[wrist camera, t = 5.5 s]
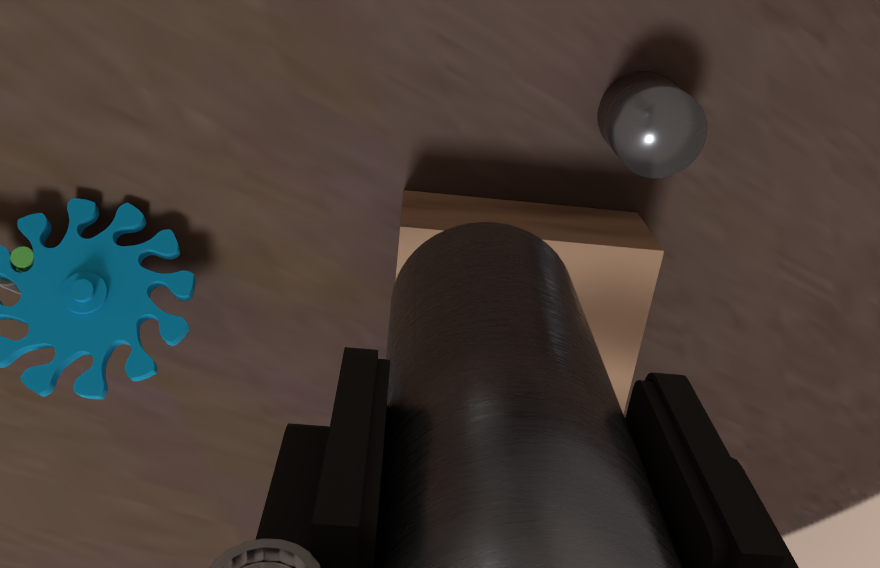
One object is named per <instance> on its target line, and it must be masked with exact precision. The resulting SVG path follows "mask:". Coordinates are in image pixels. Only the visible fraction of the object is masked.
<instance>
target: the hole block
mask: <svg viewBox="0 0 880 568" xmlns="http://www.w3.org/2000/svg"><path fill="white" fill-rule="evenodd" d="M476 222H497V223H503V224H509V225H512V226H516V227H519V228H521V229H524V230H526V231H528V232H531V233H532V234H534V235H536V236H537V237H539V238H541V239H542V240H543V241H544V242H546V243H547V244H548V245H549V246H550V247H551V248H552V249H553V250H554V251H555V252H556V253H557V254H558V255H559V257H560V258H561V260H562V261H563V263H564V264H565V266H566V268H567V270H568V272H569V275H570V277H571V280H572V283H573V285H574V288H575V290H576V293H577V295H578V298H579V301H580V303H581V306H582V308H583V311H584V314H585V316H586V319H587V321H588V324H589V327H590V329H591V332H592V334H593V337H594V340H595V342H596V345H597V347H598V350H599V353H600V355H601V358H602V360H603V363H604V366H605V368H606V371H607V373H608V376H609V379H610V381H611V384H612V386H613V389H614V391H615V394H616V397H617V399H618V402H619V404H620V407H621V410H622V412H623V414H624V410H625V406H626V402H627V398H628V394H629V390H630V386H631V382H632V378H633V374H634V370H635V366H636V362H637V358H638V353H639V349H640V345H641V341H642V337H643V333H644V329H645V325H646V321H647V317H648V313H649V309H650V305H651V301H652V297H653V293H654V289H655V285H656V281H657V277H658V273H659V269H660V265H661V261H662V257H663V253H664V250H663V249H662V247H661V246H660V244H659V243H658V241H657V240H656V239H655V237H654V236H653V234H652V233H651V231H650V230H649V228H648V227H647V226H646V224H645V223H644V221H643V220H642V218H641V217H640V216H639V214H638V213H637V212H628V211H617V210H607V209H597V208H586V207H576V206H565V205H555V204H544V203H534V202H523V201H513V200H502V199H492V198H481V197H471V196H460V195H450V194H439V193H429V192H418V191H408V190H404V191H403V202H402V214H401V225H400V236H399V248H398V259H397V270H396V278H397V276H398V274H399V272H400V270H401V268H402V266H403V265H404V263H405V262H406V260H407V259H408V258H409V257H410V255H411V254H412V253H413V252H414V251H415V250H416V249H417V248H418V247H419V246H421V245H422V244H423V243H424V242H425V241H427V240H428V239H430V238H431V237H433V236H434V235H436V234H438V233H440V232H442V231H444V230H447V229H450V228H452V227H455V226H458V225H463V224H468V223H476Z"/></svg>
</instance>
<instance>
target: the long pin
mask: <svg viewBox="0 0 880 568" xmlns="http://www.w3.org/2000/svg"><path fill="white" fill-rule="evenodd" d="M386 360H390V372H389V384H388V397H387V409H386V422H385V434H384V446H383V459H382V471H381V483H380V496H379V508H378V520H377V532H376V543H375V554H374V565H373V568H682V565H681V563H680V560H679V558H678V555H677V552H676V550H675V547H674V545H673V542H672V539H671V537H670V534H669V532H668V529H667V526H666V524H665V521H664V519H663V516H662V513H661V511H660V508H659V506H658V503H657V500H656V498H655V495H654V493H653V490H652V487H651V485H650V482H649V480H648V477H647V475H646V472H645V469H644V467H643V464H642V462H641V459H640V456H639V454H638V451H637V449H636V446H635V443H634V441H633V438H632V436H631V433H630V430H629V428H628V425H627V423H626V420H625V417H624V415H623V412H622V410H621V407H620V404H619V402H618V399H617V397H616V394H615V391H614V389H613V386H612V384H611V381H610V379H609V376H608V373H607V371H606V368H605V366H604V363H603V360H602V358H601V355H600V353H599V350H598V347H597V345H596V342H595V340H594V337H593V334H592V332H591V329H590V327H589V324H588V321H587V319H586V316H585V314H584V311H583V308H582V306H581V303H580V301H579V298H578V295H577V293H576V290H575V288H574V285H573V283H572V280H571V277H570V275H569V272H568V270H567V268H566V266H565V264H564V263H563V261H562V260H561V258H560V257H559V255H558V254H557V253H556V252H555V251H554V250H553V249H552V248H551V247H550V246H549V245H548V244H547V243H546V242H544V241H543V240H542V239H541V238H539V237H537V236H536V235H534V234H532V233H531V232H528V231H526V230H524V229H521V228H519V227H516V226H512V225H509V224H503V223H497V222H476V223H468V224H463V225H458V226H455V227H452V228H450V229H447V230H444V231H442V232H440V233H438V234H436V235H434V236H433V237H431V238H430V239H428V240H427V241H425V242H424V243H423V244H422V245H421V246H419V247H418V248H417V249H416V250H415V251H414V252H413V253H412V254H411V255H410V257H409V258H408V259H407V260H406V262H405V263H404V265H403V266H402V268H401V270H400V272H399V274H398V276H397V278H396V281H395V284H394V288H393V293H392V299H391V310H390V321H389V331H388V342H387V353H386Z"/></svg>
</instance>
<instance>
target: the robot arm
mask: <svg viewBox="0 0 880 568" xmlns="http://www.w3.org/2000/svg"><path fill="white" fill-rule="evenodd" d="M389 372H390V360H385V359H378V350H372V349H359V348H347V347H345V349H344V354H343V359H342V365H341V370H340V376H339V381H338V386H337V392H336V397H335V402H334V408H333V413H332V418H331V424H330V427H328V426H315V425H302V424H288V425H287V427H286V430H285V433H284V437H283V440H282V444H281V448H280V451H279V455H278V459H277V463H276V466H275V470H274V474H273V477H272V481H271V485H270V488H269V492H268V496H267V499H266V503H265V507H264V510H263V514H262V518H261V522H260V525H259V529H258V533H257V536H256V540H253V541H247V542H244V543H242V544H239V545H237V546H235V547H232V548H230V549H228V550H227V551H226V552H224V553H223V554H222V555H221V556H219V557H218V558H217V559H215V561H214V562H213V563H212V565H211V566H210V568H373V565H374V554H375V543H376V532H377V520H378V508H379V496H380V483H381V471H382V459H383V446H384V434H385V422H386V409H387V397H388V384H389ZM625 420H626V423H627V425H628V428H629V430H630V433H631V436H632V438H633V441H634V443H635V446H636V449H637V451H638V454H639V456H640V459H641V462H642V464H643V467H644V469H645V472H646V475H647V477H648V480H649V482H650V485H651V487H652V490H653V493H654V495H655V498H656V500H657V503H658V506H659V508H660V511H661V513H662V516H663V519H664V521H665V524H666V526H667V529H668V532H669V534H670V537H671V539H672V542H673V545H674V547H675V550H676V552H677V555H678V558H679V560H680V563H681V565H682V568H799V567H798V566H797V564H796V562H795V560H794V558H793V557H792V555H791V553H790V552H789V550H788V548H787V546H786V544H785V542H784V541H783V539H782V537H781V535H780V533H779V532H778V530H777V528H776V526H775V525H774V523H773V521H772V519H771V517H770V516H769V514H768V512H767V510H766V509H765V507H764V505H763V503H762V501H761V500H760V498H759V496H758V494H757V493H756V491H755V489H754V487H753V485H752V484H751V482H750V480H749V478H748V477H747V475H746V473H745V471H744V469H743V468H742V466H741V465H740V463H739V462H738V461H737V460H736V459H734V458H732V457H730V455H729V453H728V451H727V449H726V448H725V446H724V444H723V442H722V440H721V438H720V437H719V435H718V433H717V431H716V429H715V428H714V426H713V424H712V422H711V420H710V418H709V417H708V415H707V413H706V411H705V409H704V408H703V406H702V404H701V402H700V400H699V399H698V397H697V395H696V393H695V391H694V389H693V388H692V386H691V384H690V382H689V380H688V379H687V378H686V376H684V375H675V374H663V373H649V374H648V375H647V377H646V379H645V381H642V380H638V381H636V382H635V384H634V387H633V390H632V394H631V398H630V402H629V406H628V410H627V414H626V418H625Z"/></svg>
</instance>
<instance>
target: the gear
mask: <svg viewBox="0 0 880 568" xmlns="http://www.w3.org/2000/svg"><path fill="white" fill-rule="evenodd" d="M67 211H68V214H69V227H68V230H67V233H66V235H65V237H64V238H63V240H62V242H61V243H60V244H59V245H58V246H56V247H54V248H46V247H45V242H46V240H47V238H48V236H49V235H50V233H51V229H52V227H51V224H50V222H49V221H48V219H47V218H46V217H45V215H44V214H43V213H35V214H31V215H28V216H25V217H23V218H20V219H18V222H17V225H18V229H19V230H20V231H21V232H22V234H23V235H24V236H25V237H26V238H27V239H28V240H29V241H30V243H31V245H32V248H33V251H32V250H31V249H29V248H28V247H18V248H16V249H15V250H13V251H12V253H10V252H9V251H8V250H7V249H6V248H5V247H3V246H0V286H1V287H3V288H5V289H8V290H10V291H13V292H15V293H18V294H20V295H21V298H20V300H19V302H18V303H17V304H15V305H13V306H10V307H6V306H4V305H3V304H2V303H1V301H0V320H2V319H11V320H17V321H20V322H23V323H25V324H28V326H29V332H28V334H27V335H26V337H24V338H23V339H21V340H18V341H13V340H10V339H7V338H5V337H2V336H0V368H2V367H6V366H9V365H10V364H12V363H13V362H14V361H15V360H16V359H17V358H18V357H20V356H21V355H23V354H25V353H27V352H29V351H32V350H36V349H41V348H54V349H55V351H56V354H55V358H54V359H53V360H52V362H50V363H49V364H46V365H40V366H33V367H30V368H28V369H27V370H25V371H24V372H23V374H22V375H21V378H20V379H21V380H22V382H23V383H24V384H25V385H26V386H27V387H28V388H30V389H31V390H33V391H34V392H36V393H38V394H39V395H41V396H43V397H45V396H47V395H49V394H50V393H51V392H52V391H53V390H54V388H55V386H56V383H57V380H58V378H59V376H60V374H61V373H62V371H63V370H64V369H65V368H66V367H67V366H68V365H69V364H71V363H72V362H73V361H75V360H76V359H78V358H79V357H81V356H83V355H91V356H93V365H92V367H91V368H90V369H89V370H88V371H86V372H85V373H83V374H82V375H80V376H79V377H78V378H77V379H76V381H75V383H74V392H75V393H77V394H78V395H80V396H82V397H85V398H89V399H103V398H104V397H105V396H106V394H107V392H108V385H107V382H106V375H105V374H106V366H107V362H108V360H109V358H110V356H111V354H112V352H113V350H114V349H115V348H116V347H117V346H119V345H121V344H128V345H130V346H131V354H130V356H129V358H128V360H127V362H126V364H125V372H126V374H127V376H128V377H129V378H130V379H131V380H132V381H141V380H144V379H147V378H149V377H151V376H153V375H155V374H157V365H156V363H155V362H154V361H153V359H152V358H151V357H150V356H149V355H148V354H146V353H145V351H144V349H143V347H142V345H141V340H140V325H141V324H142V323H143V322H144V321H145V320H147V319H156V320H157V321H159V330H160V334H161V336H162V338H163V339H164V341H165V342H166V343H167V344H169V345H171V346H175V345H176V344H178V343H179V342H180V341H181V340H182V339H183V338H184V337H185V336H186V334H187V333H188V332H189V330H190V328H189V326H188V324H187V322H186V321H185V319H183V318H182V317H180V316H175V315H171V314H168V313H165V312H163V311H162V310H160V309H159V308H158V307H157V306H156V305H155V304H154V303H153V302H152V301H151V299H150V294H151V292H152V290H153V289H154V288H156V287H159V286H164V287H167V288H168V289H169V290H170V291H171V292H172V294H173V295H174V296H175V297H176V298H177V299H179V300H182V301H188V300H191V298H192V296H193V293H194V290H195V281H196V279H195V277H194V274H193V273H191V272H189V271H185V270H183V271H178V272H175V273H169V274H162V273H156V272H153V271H150V270H147V269H145V268H143V267H141V263H142V261H143V259H144V258H145V257H147V256H150V255H155V256H158V257H161V258H163V259H167V260H171V259H175V258H177V257H178V256H180V249H179V245H178V243H177V240H176V238H175V235H174V234H173V232H172V230H169V229H167V230H162V231H160V232H158V233H157V234H156V235H155V236H154V237H153V238H151V239H150V240H148V241H146V242H144V243H142V244H138V245H133V246H118V245H117V244H116V241H117V239H118V237H119V236H121V235H122V234H125V233H135V232H138V231H141V230H142V229H143V228H144V227H145V226H146V223H147V222H146V220H145V217H144V215H143V214H142V213H141V212H140V211H139V210H138V209H137V208H136V207H134V206H133V205H131V204H129V203H124V204H123V205H121V206H120V207H119V208H118V210H117V213H116V216H115V218H114V220H113V222H112V223H111V224H110V226H109V227H108V228H107V229H105V230H104V231H103V232H101V233H100V234H98V235H96V236H95V237H93V238H90V239H85V238H82V237H81V234H82V231H83V230H84V229H85V228H86V227H88V226H90V225H91V224H93V223H94V222H96V220H97V219H98V217H99V209H98V207H97V206H96V204H95V203H94V202H92V201H89V200H86V199H73V198H72V199H71V200H70V201H69V203H68V205H67Z"/></svg>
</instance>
